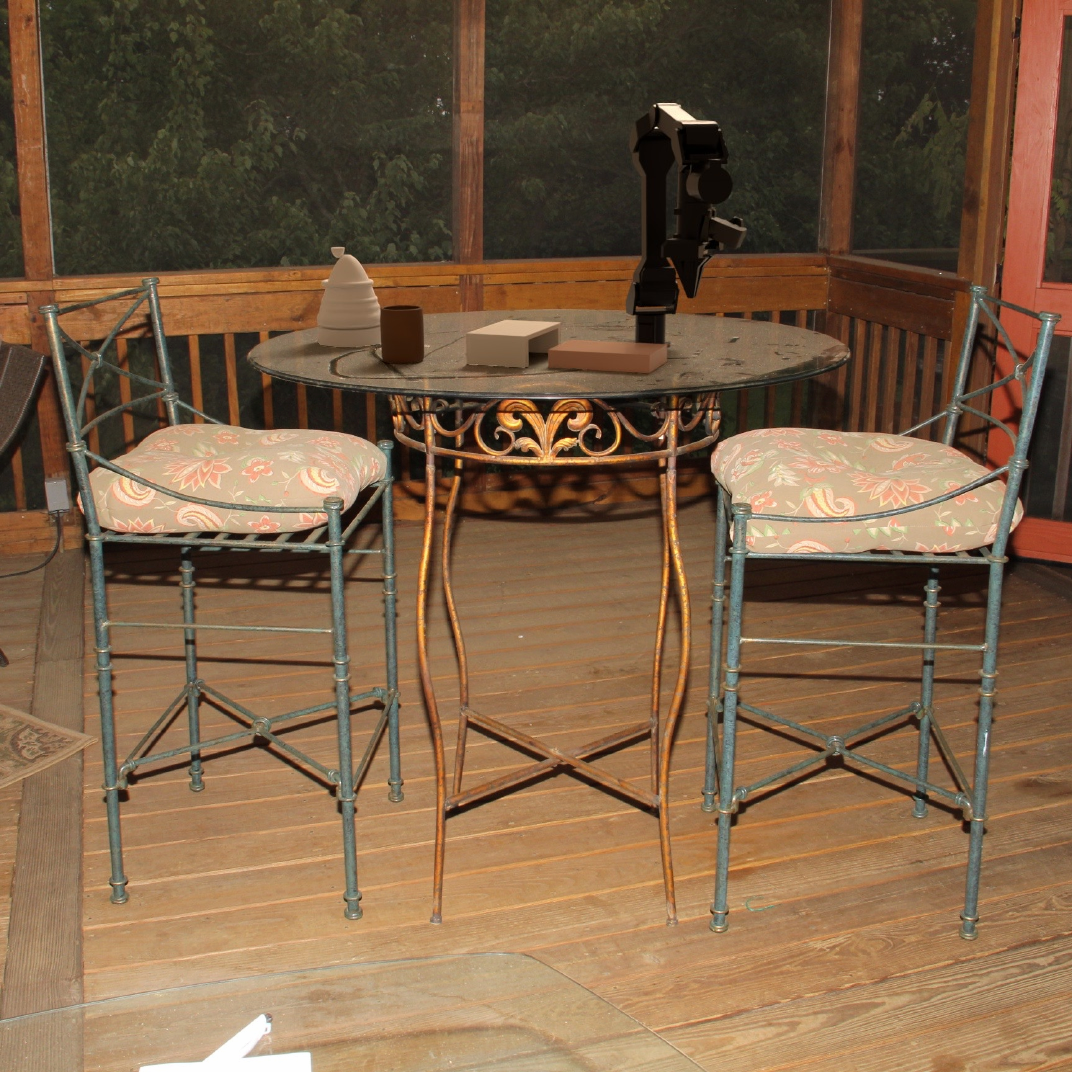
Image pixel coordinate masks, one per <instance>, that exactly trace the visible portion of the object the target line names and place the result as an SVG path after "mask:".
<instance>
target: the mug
mask: <svg viewBox="0 0 1072 1072" xmlns="http://www.w3.org/2000/svg"><path fill="white" fill-rule="evenodd" d="M424 322H425V321H424V312H423V306H419V305H410V304H395V305H385V306H382V307H380V331H381V344H380V346H381V347H380V348H381V359H382V361H383V362H385V363H388V364H392V365H395V364H396V365H408V363H411V364H416V363H417V364H418V363H421V362H423V360H424V358H425V328H424Z"/></svg>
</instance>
